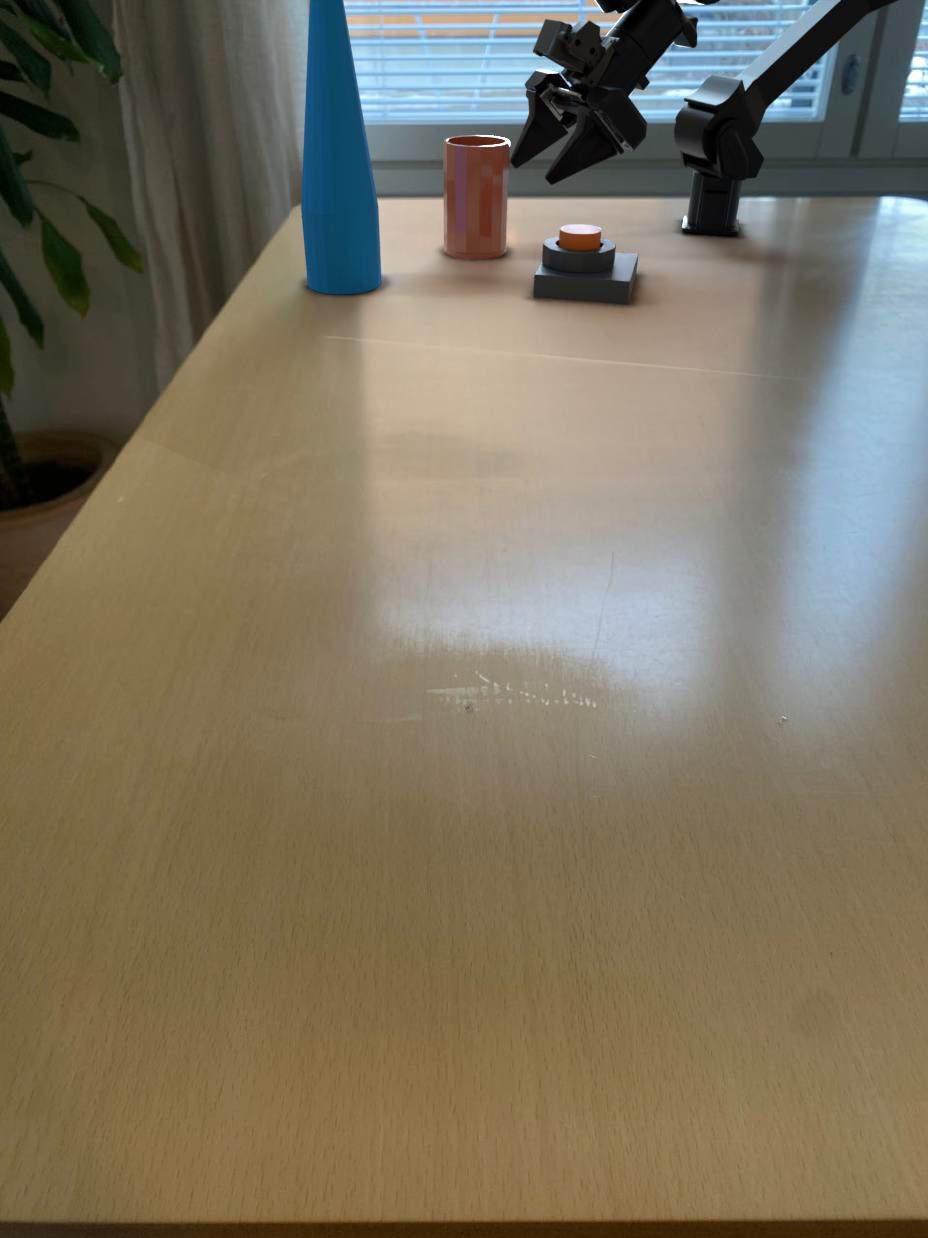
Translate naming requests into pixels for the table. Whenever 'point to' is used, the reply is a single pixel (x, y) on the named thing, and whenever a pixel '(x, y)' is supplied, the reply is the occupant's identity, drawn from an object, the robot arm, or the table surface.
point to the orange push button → (580, 237)
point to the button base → (585, 273)
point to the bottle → (336, 164)
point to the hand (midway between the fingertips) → (529, 173)
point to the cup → (475, 196)
